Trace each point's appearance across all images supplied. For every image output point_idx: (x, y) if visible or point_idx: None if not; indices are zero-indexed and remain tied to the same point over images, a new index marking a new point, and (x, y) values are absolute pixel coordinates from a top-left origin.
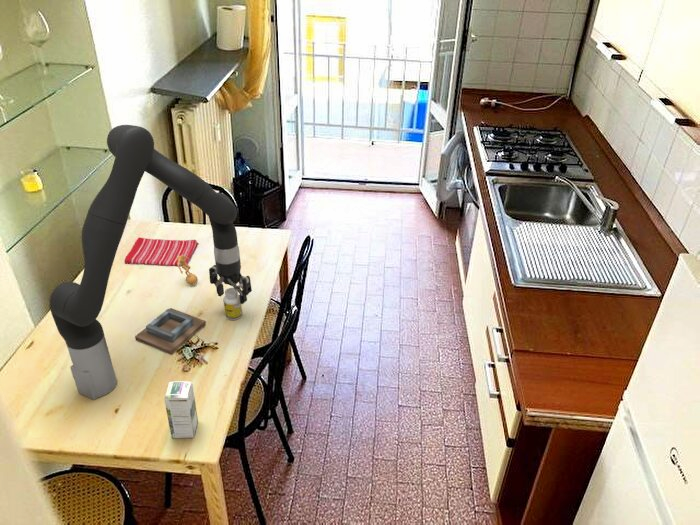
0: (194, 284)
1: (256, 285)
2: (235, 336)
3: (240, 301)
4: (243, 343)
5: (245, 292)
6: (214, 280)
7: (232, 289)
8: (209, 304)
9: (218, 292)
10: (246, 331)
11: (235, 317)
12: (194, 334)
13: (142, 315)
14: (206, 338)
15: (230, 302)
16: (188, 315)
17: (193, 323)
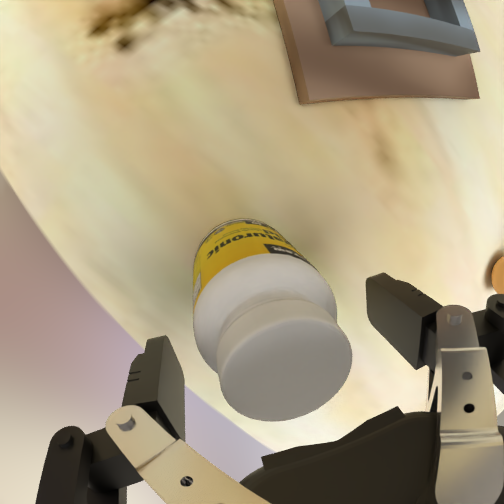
0: (493, 271)
1: (318, 430)
2: (87, 152)
3: (157, 349)
4: (23, 152)
5: (62, 456)
6: (497, 337)
7: (302, 397)
8: (399, 234)
9: (396, 288)
10: (79, 223)
11: (199, 250)
12: (278, 16)
13: (492, 42)
14: (200, 31)
15: (223, 284)
16: (406, 88)
17: (334, 38)
